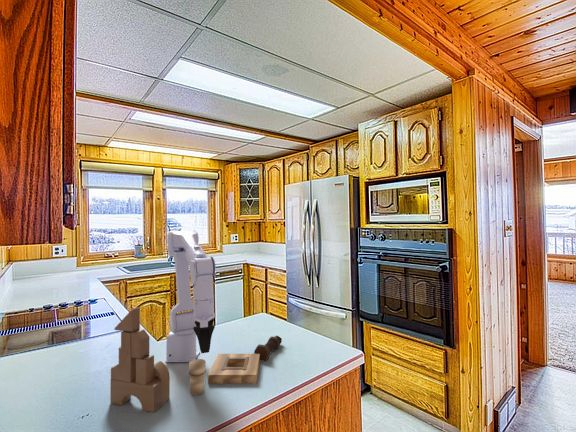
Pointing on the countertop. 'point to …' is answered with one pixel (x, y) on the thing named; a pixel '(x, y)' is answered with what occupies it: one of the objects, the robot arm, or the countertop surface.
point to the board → (234, 368)
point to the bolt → (268, 347)
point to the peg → (197, 376)
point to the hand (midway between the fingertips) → (205, 348)
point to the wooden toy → (138, 368)
